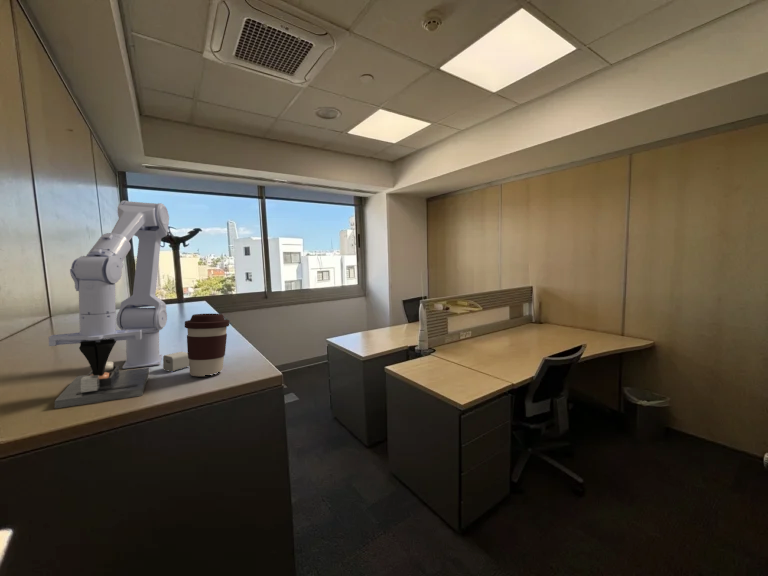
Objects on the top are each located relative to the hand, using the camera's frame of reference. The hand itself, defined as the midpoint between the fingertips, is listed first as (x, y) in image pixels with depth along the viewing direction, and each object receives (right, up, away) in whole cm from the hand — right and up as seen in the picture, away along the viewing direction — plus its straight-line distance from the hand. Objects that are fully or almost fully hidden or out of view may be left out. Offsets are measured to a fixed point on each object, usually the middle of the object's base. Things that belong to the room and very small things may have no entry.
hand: (99, 375), depth 67 cm
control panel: (+1, -3, +1) cm, 4 cm away
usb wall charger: (+7, -3, +17) cm, 18 cm away
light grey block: (+2, -2, -4) cm, 5 cm away
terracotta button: (0, -1, 0) cm, 1 cm away
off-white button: (-3, 0, +4) cm, 5 cm away
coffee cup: (+16, -3, +12) cm, 21 cm away
